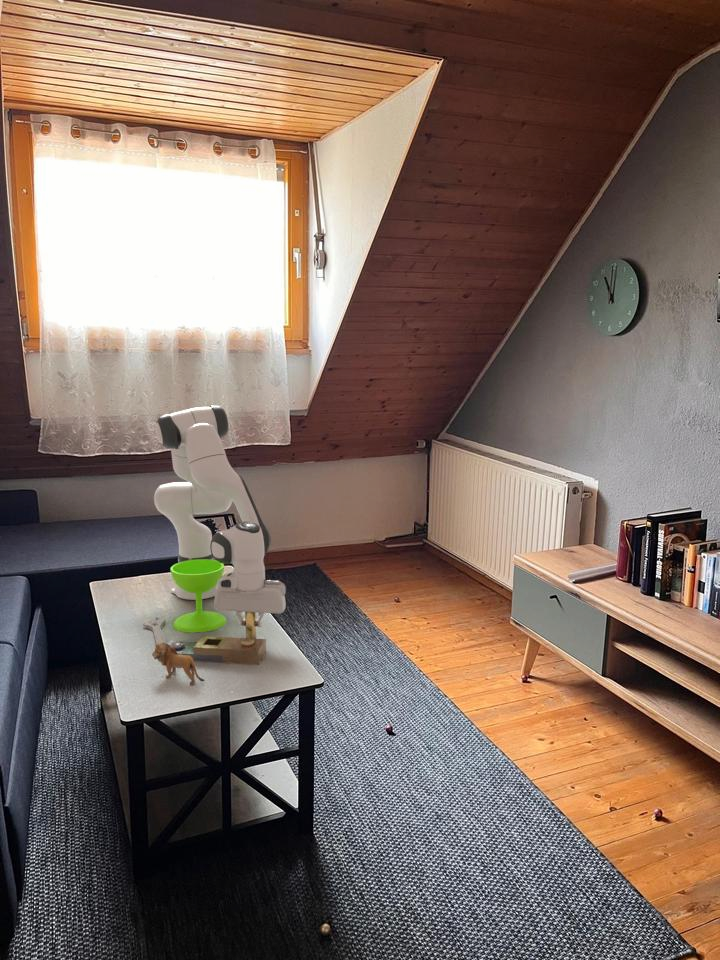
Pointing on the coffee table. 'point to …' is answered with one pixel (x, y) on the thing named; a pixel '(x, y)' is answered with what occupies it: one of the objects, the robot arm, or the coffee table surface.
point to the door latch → (223, 649)
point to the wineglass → (198, 593)
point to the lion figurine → (175, 661)
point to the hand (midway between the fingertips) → (250, 625)
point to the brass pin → (250, 624)
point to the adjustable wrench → (156, 628)
